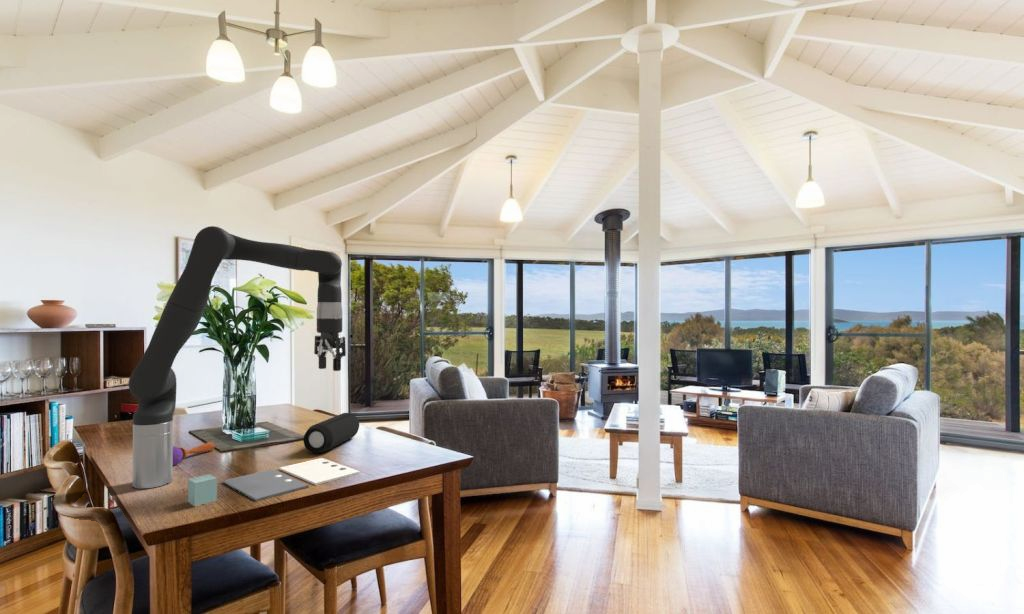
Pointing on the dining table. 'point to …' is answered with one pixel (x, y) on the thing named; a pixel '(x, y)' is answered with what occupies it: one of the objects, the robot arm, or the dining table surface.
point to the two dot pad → (265, 484)
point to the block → (202, 489)
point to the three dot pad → (319, 471)
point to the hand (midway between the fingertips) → (329, 369)
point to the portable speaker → (331, 432)
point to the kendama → (190, 451)
